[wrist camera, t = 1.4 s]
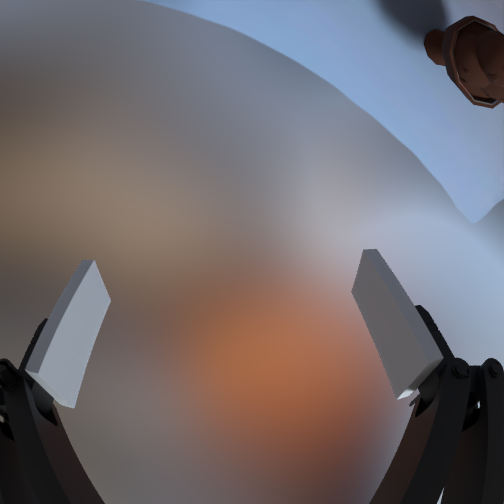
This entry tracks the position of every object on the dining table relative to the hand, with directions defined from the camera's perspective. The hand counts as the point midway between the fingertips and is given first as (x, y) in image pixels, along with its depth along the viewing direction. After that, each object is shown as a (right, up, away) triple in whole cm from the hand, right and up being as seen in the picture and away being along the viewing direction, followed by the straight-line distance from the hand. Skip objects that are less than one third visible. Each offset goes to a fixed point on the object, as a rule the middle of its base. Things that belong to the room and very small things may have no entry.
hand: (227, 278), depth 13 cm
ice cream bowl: (+25, +27, +7) cm, 38 cm away
